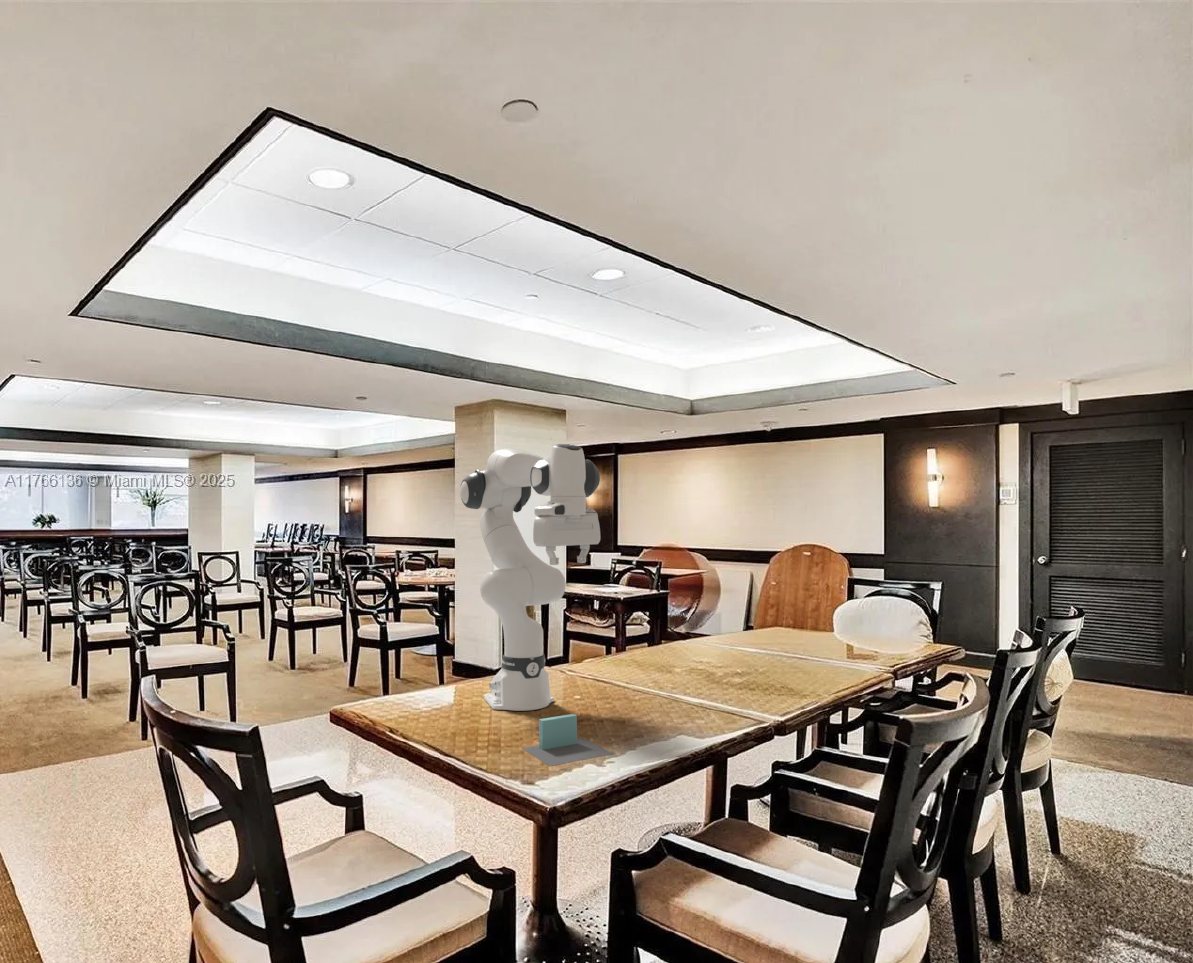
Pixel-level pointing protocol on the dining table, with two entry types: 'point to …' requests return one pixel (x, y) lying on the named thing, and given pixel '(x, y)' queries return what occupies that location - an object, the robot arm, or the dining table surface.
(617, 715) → the dining table surface
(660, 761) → the dining table surface
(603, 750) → the mat
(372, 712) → the dining table surface
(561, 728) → the box
